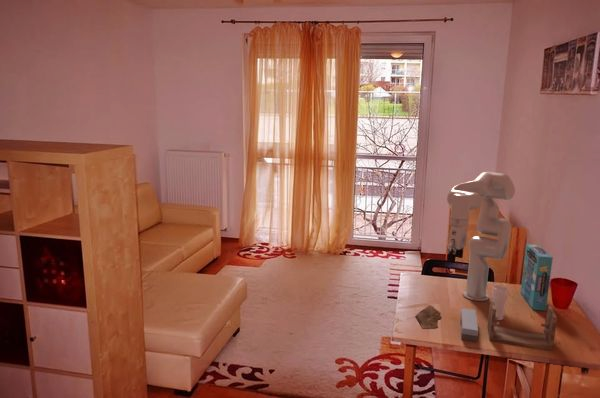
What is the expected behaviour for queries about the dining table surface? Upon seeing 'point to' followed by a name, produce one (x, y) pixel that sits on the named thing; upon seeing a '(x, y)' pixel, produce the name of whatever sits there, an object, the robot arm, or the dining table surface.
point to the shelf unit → (523, 331)
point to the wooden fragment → (428, 317)
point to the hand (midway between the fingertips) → (454, 259)
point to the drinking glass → (499, 299)
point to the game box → (536, 276)
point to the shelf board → (469, 322)
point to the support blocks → (468, 336)
